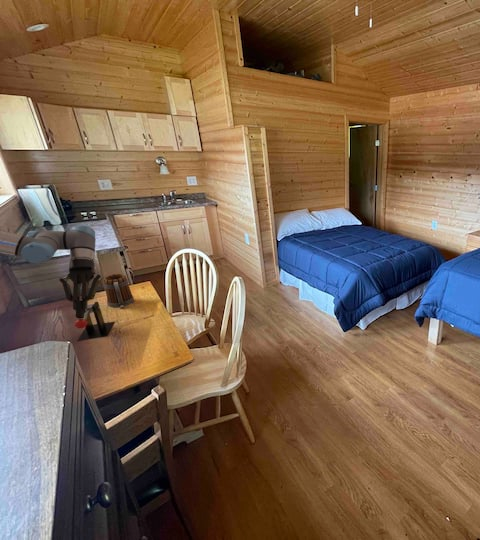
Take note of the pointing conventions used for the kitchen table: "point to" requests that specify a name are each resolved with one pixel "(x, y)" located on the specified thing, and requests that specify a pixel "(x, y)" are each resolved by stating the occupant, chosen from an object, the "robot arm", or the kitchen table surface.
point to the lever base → (96, 325)
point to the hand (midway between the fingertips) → (79, 317)
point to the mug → (118, 291)
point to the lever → (82, 322)
